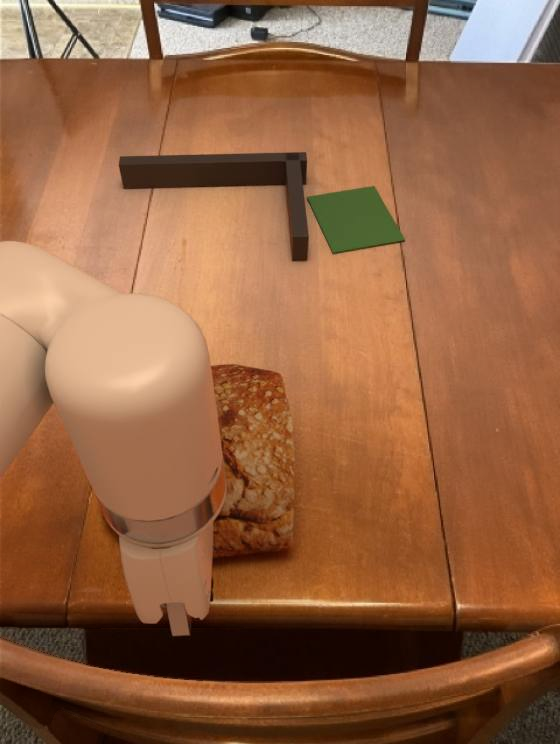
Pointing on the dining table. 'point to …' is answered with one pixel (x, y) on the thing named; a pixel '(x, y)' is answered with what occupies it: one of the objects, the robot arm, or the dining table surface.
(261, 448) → the bread
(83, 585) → the dining table surface
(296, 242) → the corner stop
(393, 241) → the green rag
